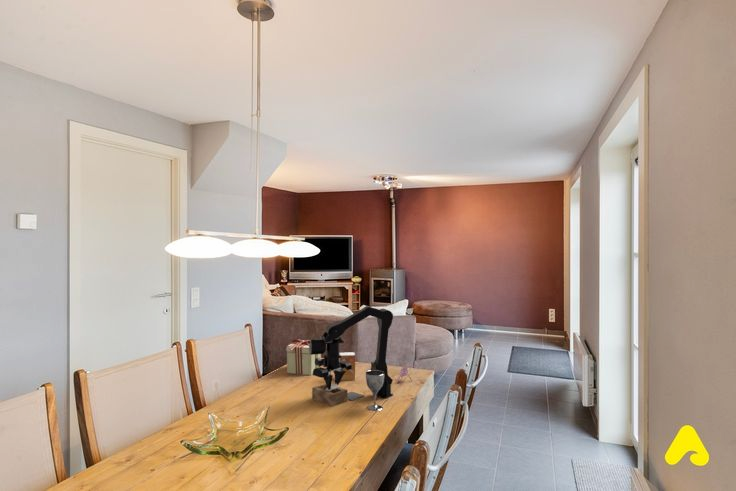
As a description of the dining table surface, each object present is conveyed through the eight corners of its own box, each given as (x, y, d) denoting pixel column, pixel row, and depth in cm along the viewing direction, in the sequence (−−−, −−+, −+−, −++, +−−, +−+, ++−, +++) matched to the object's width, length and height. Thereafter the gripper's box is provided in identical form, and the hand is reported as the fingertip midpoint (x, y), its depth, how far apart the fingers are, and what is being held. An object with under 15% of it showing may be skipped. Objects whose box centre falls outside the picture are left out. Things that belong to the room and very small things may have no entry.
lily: (403, 378, 225) (395, 362, 225) (422, 372, 220) (413, 357, 219) (396, 391, 215) (387, 375, 214) (415, 386, 209) (406, 370, 208)
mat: (364, 396, 194) (364, 395, 194) (352, 401, 188) (352, 400, 188) (352, 392, 200) (352, 391, 200) (339, 396, 194) (339, 395, 194)
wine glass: (387, 407, 181) (388, 372, 181) (375, 413, 175) (375, 376, 175) (374, 402, 186) (374, 368, 186) (361, 407, 180) (361, 372, 180)
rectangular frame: (347, 401, 188) (347, 389, 188) (332, 406, 182) (332, 395, 182) (327, 393, 197) (327, 383, 197) (312, 399, 191) (312, 387, 191)
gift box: (283, 375, 225) (283, 343, 225) (295, 366, 243) (295, 336, 243) (314, 377, 222) (314, 344, 222) (324, 367, 240) (324, 337, 240)
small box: (339, 380, 217) (339, 355, 217) (338, 377, 223) (338, 352, 223) (355, 380, 218) (355, 354, 218) (354, 376, 224) (354, 351, 224)
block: (338, 387, 188) (336, 383, 189) (331, 389, 186) (329, 385, 186) (328, 396, 193) (326, 392, 194) (321, 398, 190) (319, 394, 191)
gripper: (335, 346, 201) (335, 379, 200) (304, 353, 187) (304, 389, 187) (352, 350, 193) (352, 384, 193) (321, 358, 179) (321, 395, 179)
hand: (332, 388), depth 188 cm, fingers closed on block, 4 cm apart
